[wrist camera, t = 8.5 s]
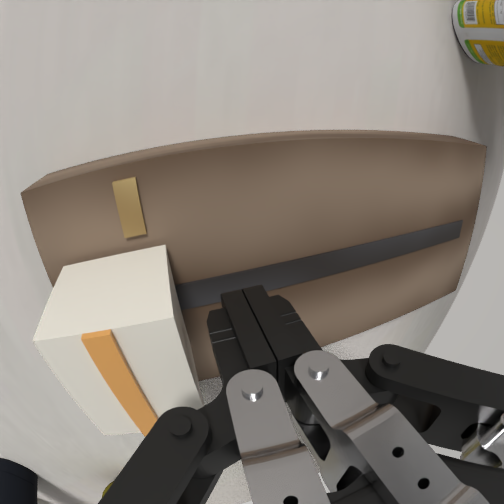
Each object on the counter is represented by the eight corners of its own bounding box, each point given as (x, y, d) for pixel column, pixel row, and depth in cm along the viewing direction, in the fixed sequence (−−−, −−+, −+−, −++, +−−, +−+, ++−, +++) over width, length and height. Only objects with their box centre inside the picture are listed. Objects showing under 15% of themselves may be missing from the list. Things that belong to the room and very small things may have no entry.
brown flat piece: (47, 174, 10) (18, 194, 8) (453, 136, 16) (488, 147, 13) (114, 356, 16) (112, 398, 13) (431, 271, 21) (457, 291, 18)
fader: (63, 266, 9) (30, 346, 6) (165, 244, 10) (174, 322, 7) (107, 360, 12) (105, 440, 8) (190, 345, 12) (209, 425, 9)
